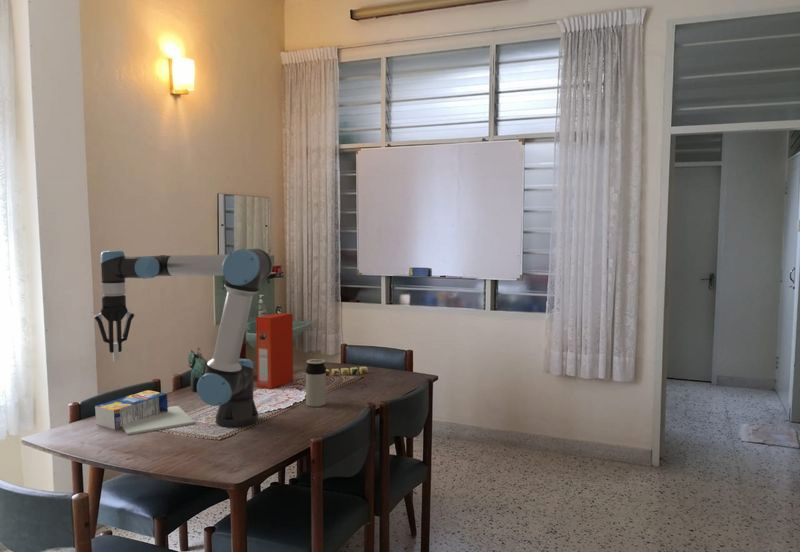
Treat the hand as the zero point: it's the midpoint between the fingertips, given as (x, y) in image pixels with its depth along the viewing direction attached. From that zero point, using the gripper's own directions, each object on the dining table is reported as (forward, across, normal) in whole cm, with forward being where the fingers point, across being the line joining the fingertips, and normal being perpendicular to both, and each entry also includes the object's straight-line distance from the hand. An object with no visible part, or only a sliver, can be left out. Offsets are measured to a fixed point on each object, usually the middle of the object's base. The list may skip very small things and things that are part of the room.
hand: (115, 361), depth 207 cm
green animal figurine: (+24, -38, -28) cm, 53 cm away
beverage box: (+20, +4, -2) cm, 20 cm away
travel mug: (+24, -72, +13) cm, 77 cm away
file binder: (+24, -70, -27) cm, 79 cm away
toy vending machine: (+24, -56, -47) cm, 77 cm away
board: (+24, -12, 0) cm, 27 cm away
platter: (+25, -108, -25) cm, 113 cm away
